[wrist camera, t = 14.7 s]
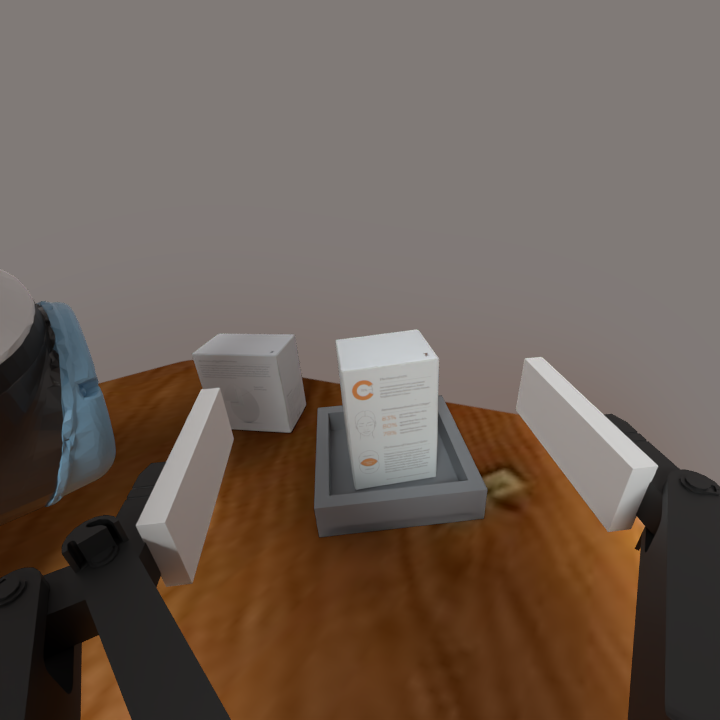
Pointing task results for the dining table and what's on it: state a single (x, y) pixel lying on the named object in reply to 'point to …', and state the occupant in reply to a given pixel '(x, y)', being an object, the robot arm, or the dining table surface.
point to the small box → (389, 407)
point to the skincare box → (254, 379)
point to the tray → (394, 501)
